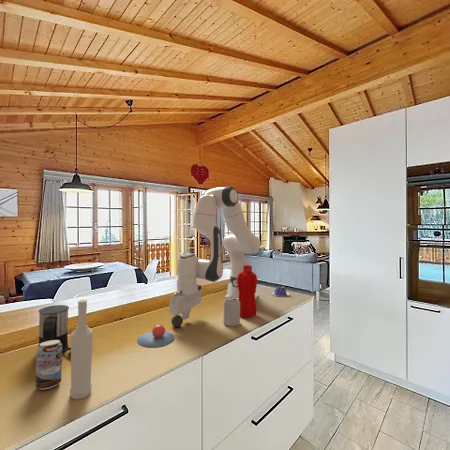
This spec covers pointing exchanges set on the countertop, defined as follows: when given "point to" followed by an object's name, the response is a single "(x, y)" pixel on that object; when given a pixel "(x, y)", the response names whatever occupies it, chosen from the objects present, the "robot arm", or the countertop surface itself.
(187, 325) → the countertop surface
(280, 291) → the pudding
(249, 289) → the water bottle
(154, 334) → the object ball
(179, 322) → the dark grey ball
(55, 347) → the beverage can
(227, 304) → the can
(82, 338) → the bottle
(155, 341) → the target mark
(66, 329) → the milk frother
